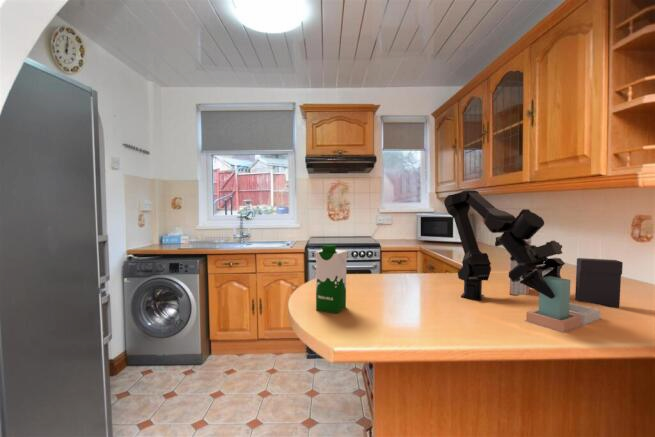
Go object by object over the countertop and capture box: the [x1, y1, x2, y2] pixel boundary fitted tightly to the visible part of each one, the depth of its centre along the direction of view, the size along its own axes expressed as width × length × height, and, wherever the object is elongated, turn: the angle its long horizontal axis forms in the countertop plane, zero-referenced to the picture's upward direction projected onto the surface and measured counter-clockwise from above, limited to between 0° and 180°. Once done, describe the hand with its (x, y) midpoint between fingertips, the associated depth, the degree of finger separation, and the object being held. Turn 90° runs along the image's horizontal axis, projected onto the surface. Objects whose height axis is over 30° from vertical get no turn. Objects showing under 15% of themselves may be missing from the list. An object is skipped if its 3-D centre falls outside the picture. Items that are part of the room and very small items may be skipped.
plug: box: [538, 276, 572, 320], centre depth 86 cm, size 5×5×12 cm
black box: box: [574, 257, 624, 309], centre depth 106 cm, size 11×4×15 cm, turn 71°
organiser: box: [524, 302, 602, 334], centre depth 89 cm, size 10×21×4 cm, turn 120°
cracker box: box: [509, 237, 532, 297], centre depth 121 cm, size 14×6×21 cm, turn 144°
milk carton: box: [314, 244, 348, 314], centre depth 100 cm, size 9×9×20 cm
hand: (560, 296), depth 85 cm, fingers open, 6 cm apart
